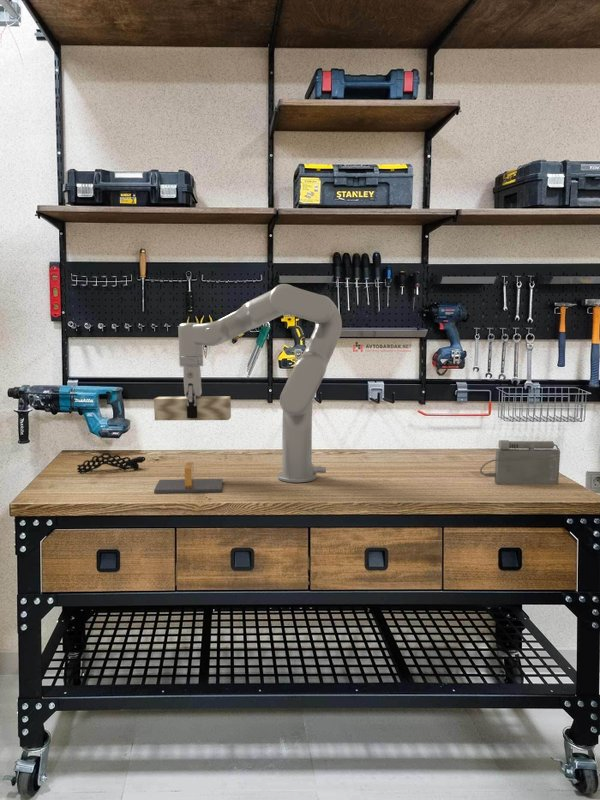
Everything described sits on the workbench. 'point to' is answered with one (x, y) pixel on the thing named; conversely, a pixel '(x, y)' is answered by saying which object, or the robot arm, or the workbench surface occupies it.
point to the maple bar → (205, 408)
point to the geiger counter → (526, 463)
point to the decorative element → (111, 462)
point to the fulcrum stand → (189, 483)
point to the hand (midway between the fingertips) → (193, 415)
